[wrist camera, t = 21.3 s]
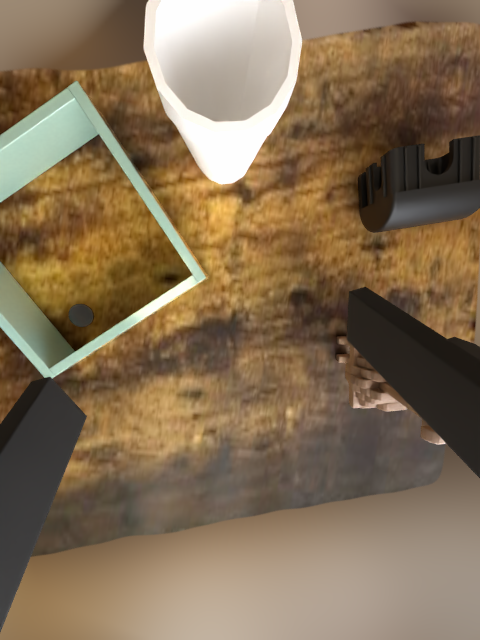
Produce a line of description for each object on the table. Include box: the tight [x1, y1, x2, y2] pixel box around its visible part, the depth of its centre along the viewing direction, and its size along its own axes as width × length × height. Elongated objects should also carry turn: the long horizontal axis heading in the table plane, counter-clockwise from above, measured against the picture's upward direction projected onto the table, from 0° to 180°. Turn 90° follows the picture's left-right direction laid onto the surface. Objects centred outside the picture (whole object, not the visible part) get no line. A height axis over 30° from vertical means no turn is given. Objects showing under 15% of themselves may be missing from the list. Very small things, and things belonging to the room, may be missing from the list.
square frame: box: [0, 81, 209, 378], centre depth 26 cm, size 20×20×5 cm
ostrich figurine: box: [336, 336, 446, 444], centre depth 24 cm, size 17×7×18 cm, turn 94°
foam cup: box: [144, 0, 302, 184], centre depth 21 cm, size 10×9×13 cm
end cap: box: [358, 136, 480, 232], centre depth 26 cm, size 10×7×7 cm
